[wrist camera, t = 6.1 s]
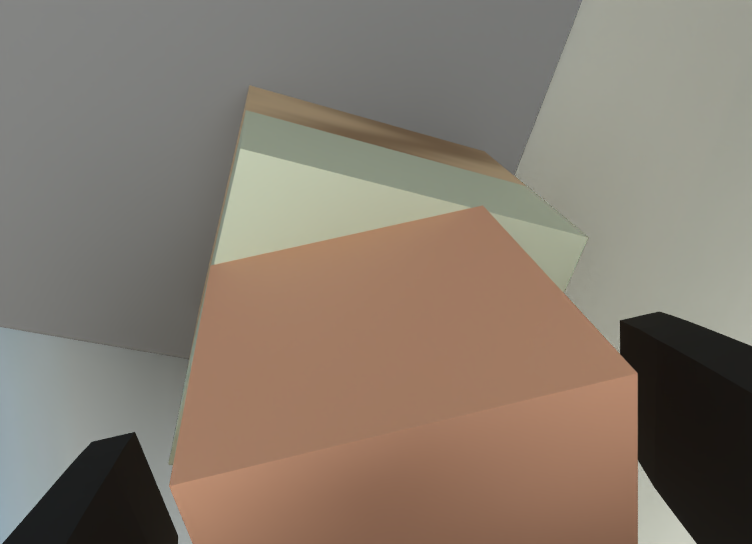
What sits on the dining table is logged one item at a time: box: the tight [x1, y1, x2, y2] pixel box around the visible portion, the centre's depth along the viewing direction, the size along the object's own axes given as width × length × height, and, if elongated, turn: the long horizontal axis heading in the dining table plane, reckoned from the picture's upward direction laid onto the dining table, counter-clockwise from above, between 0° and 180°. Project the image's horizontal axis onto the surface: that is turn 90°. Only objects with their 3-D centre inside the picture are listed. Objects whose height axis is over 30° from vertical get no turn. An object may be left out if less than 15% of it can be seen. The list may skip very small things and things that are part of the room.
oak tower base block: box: [188, 85, 526, 364], centre depth 16 cm, size 6×6×3 cm
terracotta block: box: [169, 205, 638, 544], centre depth 9 cm, size 4×4×5 cm
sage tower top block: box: [169, 110, 588, 465], centre depth 13 cm, size 6×6×3 cm
